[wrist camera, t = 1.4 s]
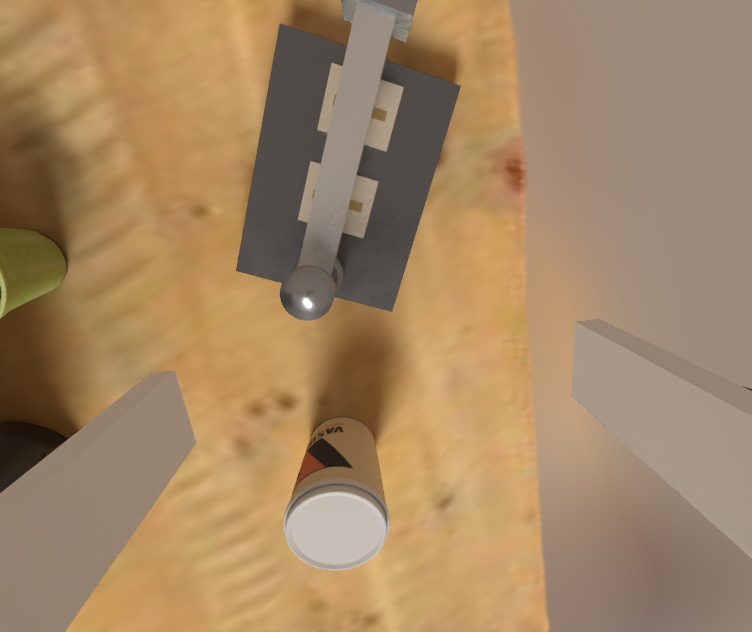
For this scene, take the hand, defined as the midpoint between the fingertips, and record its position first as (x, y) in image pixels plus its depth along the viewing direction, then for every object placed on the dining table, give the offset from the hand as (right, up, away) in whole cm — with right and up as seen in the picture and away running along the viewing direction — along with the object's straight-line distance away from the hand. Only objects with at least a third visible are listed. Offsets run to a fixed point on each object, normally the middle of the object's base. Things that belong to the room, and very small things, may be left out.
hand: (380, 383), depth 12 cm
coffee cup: (-4, -13, +31) cm, 34 cm away
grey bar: (-3, +13, +16) cm, 21 cm away
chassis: (-3, +15, +23) cm, 27 cm away
